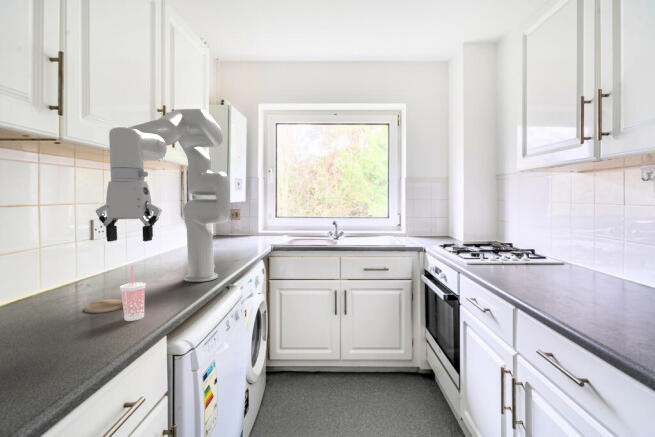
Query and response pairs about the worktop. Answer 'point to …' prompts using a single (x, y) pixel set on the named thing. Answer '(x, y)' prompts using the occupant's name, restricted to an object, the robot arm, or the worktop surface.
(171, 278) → the worktop surface
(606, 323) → the worktop surface
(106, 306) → the plate
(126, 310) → the beverage cup
